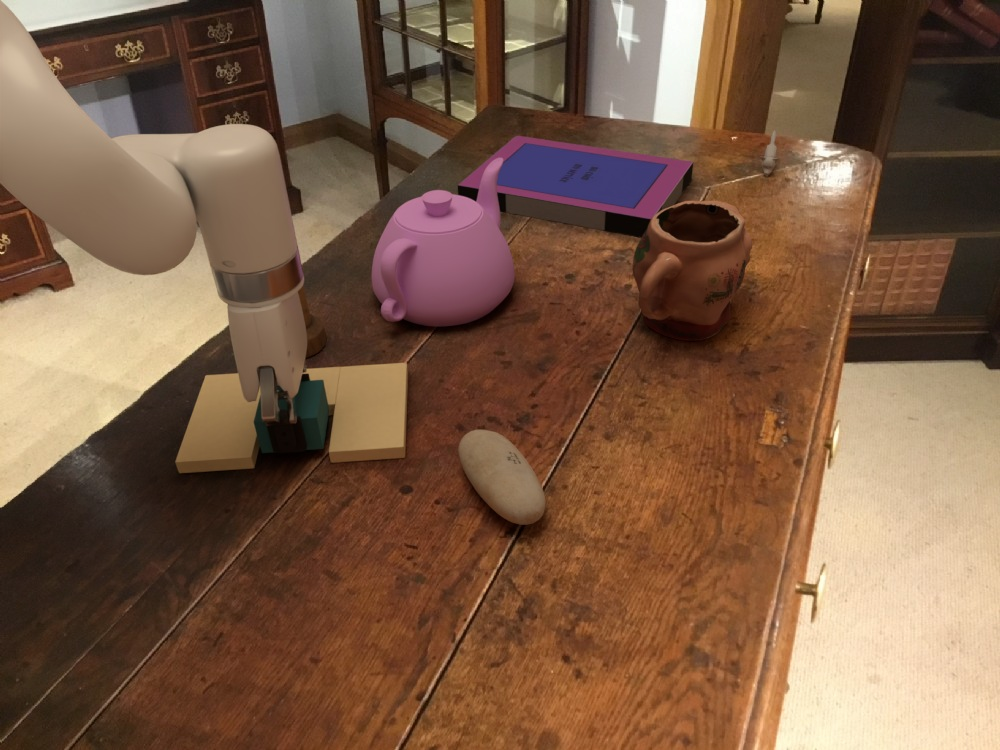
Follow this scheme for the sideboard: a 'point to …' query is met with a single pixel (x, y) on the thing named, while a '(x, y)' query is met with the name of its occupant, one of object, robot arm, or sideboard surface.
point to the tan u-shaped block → (351, 399)
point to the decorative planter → (691, 268)
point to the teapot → (444, 257)
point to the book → (583, 184)
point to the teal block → (311, 410)
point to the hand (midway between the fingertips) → (294, 426)
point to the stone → (502, 476)
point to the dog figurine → (770, 156)
